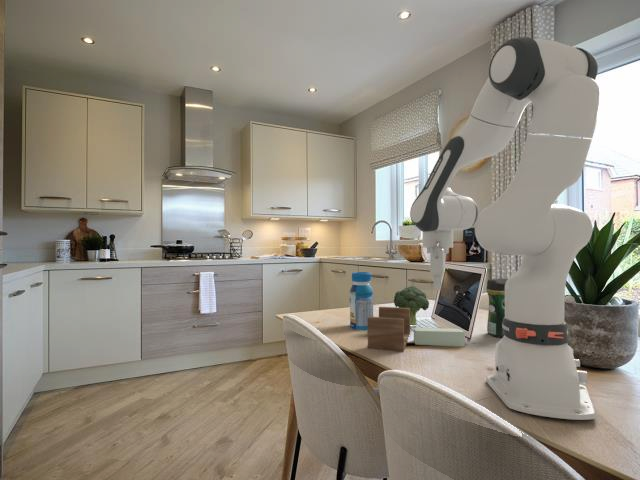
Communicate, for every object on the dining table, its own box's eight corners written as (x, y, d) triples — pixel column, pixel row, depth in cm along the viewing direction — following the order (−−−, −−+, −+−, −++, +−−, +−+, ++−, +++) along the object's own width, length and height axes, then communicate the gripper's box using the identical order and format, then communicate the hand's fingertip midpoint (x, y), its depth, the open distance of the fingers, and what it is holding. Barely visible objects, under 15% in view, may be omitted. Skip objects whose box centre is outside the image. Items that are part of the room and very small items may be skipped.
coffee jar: (510, 332, 128) (510, 277, 128) (524, 337, 120) (524, 279, 120) (483, 332, 127) (482, 277, 128) (495, 338, 120) (494, 279, 120)
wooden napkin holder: (403, 352, 105) (403, 319, 105) (367, 349, 108) (367, 317, 108) (410, 335, 124) (409, 308, 124) (379, 333, 127) (379, 306, 127)
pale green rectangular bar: (461, 343, 114) (460, 328, 114) (464, 347, 110) (464, 331, 110) (413, 342, 116) (413, 327, 116) (415, 345, 112) (415, 330, 112)
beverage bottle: (366, 333, 127) (365, 273, 127) (345, 330, 132) (344, 272, 132) (378, 329, 134) (377, 272, 134) (357, 325, 139) (357, 271, 139)
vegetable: (415, 333, 126) (415, 288, 127) (385, 327, 136) (385, 285, 136) (435, 328, 134) (435, 286, 135) (405, 322, 144) (405, 283, 144)
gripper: (448, 242, 103) (449, 292, 103) (448, 241, 122) (448, 284, 122) (424, 242, 105) (425, 291, 105) (428, 241, 124) (428, 283, 124)
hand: (437, 287), depth 113 cm, fingers open, 8 cm apart
